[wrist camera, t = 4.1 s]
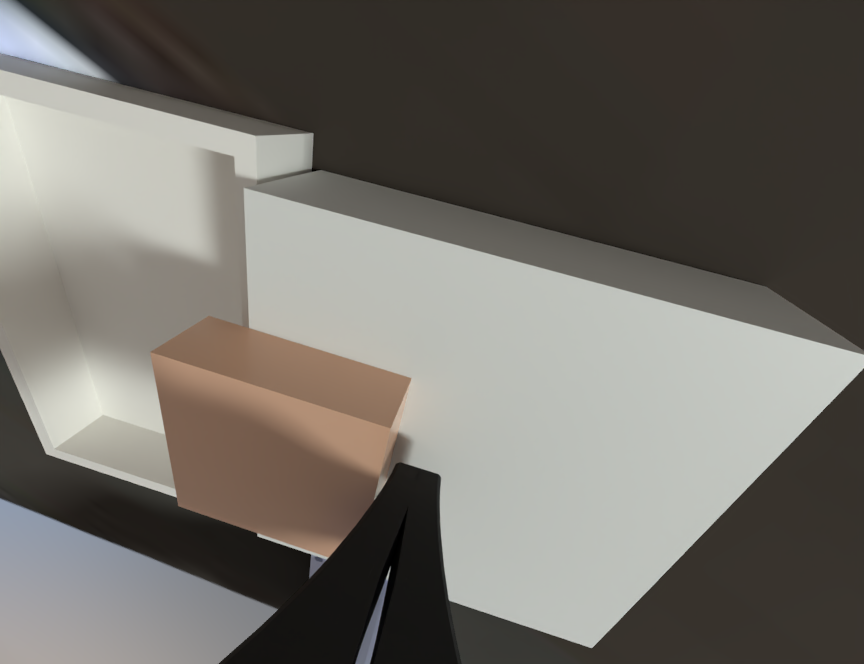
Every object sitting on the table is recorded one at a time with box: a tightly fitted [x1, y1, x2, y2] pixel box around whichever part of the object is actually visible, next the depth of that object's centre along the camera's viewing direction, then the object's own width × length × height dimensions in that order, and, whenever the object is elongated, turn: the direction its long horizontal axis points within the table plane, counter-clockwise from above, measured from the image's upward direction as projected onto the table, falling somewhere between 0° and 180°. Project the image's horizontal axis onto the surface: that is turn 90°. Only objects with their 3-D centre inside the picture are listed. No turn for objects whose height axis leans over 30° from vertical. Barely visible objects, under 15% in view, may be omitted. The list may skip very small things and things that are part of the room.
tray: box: [0, 53, 314, 497], centre depth 15 cm, size 16×11×3 cm
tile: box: [150, 316, 412, 557], centre depth 11 cm, size 6×6×2 cm
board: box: [244, 170, 864, 648], centre depth 14 cm, size 14×14×4 cm
